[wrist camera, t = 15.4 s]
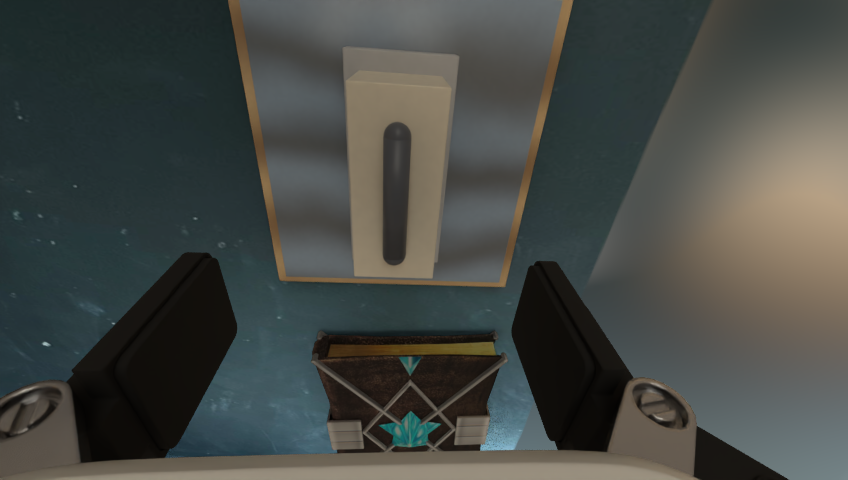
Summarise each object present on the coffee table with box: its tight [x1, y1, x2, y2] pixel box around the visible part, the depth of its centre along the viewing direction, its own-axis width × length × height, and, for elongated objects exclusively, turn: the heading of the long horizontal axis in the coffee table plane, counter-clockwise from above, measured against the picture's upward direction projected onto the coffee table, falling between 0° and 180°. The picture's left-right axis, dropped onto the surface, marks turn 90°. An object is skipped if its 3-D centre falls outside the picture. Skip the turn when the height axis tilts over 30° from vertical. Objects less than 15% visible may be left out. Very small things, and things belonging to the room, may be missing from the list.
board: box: [228, 0, 573, 287], centre depth 23 cm, size 20×18×2 cm
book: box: [311, 331, 508, 453], centre depth 36 cm, size 22×17×5 cm
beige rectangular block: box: [342, 46, 459, 279], centre depth 19 cm, size 13×6×7 cm, turn 176°
